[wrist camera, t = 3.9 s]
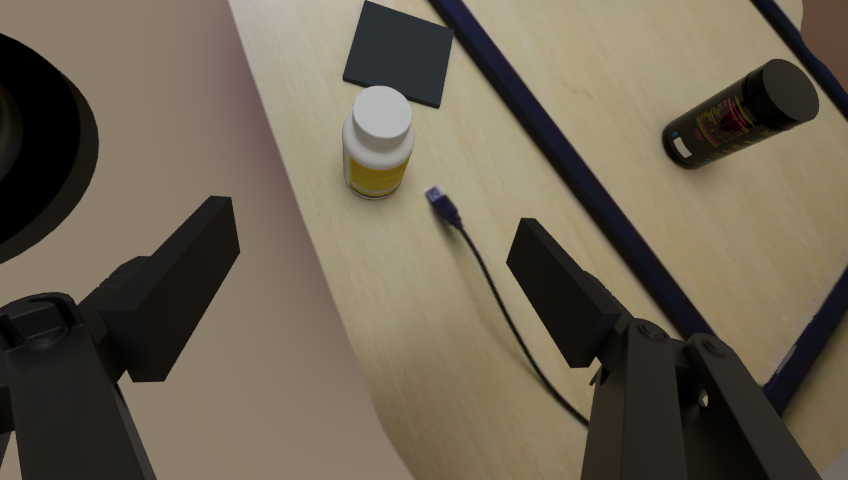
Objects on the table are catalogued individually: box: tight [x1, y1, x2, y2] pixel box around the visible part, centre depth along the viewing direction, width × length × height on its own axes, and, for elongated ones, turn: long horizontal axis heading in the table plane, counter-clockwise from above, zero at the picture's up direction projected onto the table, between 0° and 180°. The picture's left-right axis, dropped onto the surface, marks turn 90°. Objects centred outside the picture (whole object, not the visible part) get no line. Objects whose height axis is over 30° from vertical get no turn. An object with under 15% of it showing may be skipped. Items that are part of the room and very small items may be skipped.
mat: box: [343, 0, 454, 108], centre depth 34 cm, size 10×10×1 cm
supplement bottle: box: [342, 86, 414, 199], centre depth 26 cm, size 5×5×10 cm
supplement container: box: [664, 59, 819, 168], centre depth 35 cm, size 7×7×10 cm
